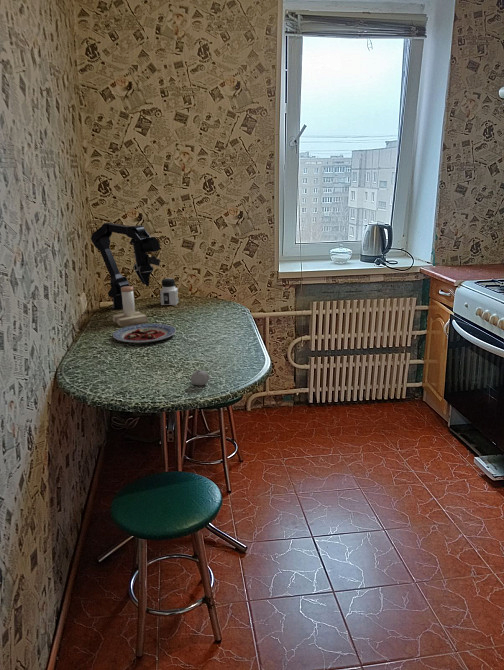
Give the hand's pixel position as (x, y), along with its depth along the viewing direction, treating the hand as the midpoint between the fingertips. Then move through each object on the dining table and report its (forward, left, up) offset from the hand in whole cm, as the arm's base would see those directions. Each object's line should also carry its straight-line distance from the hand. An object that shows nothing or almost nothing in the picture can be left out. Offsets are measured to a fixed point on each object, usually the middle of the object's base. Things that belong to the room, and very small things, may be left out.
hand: (145, 285), depth 258 cm
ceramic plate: (+38, -16, -14) cm, 44 cm away
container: (-9, +16, -14) cm, 22 cm away
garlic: (+98, -21, -14) cm, 101 cm away
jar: (+12, -13, -10) cm, 21 cm away
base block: (+12, -13, -13) cm, 22 cm away
